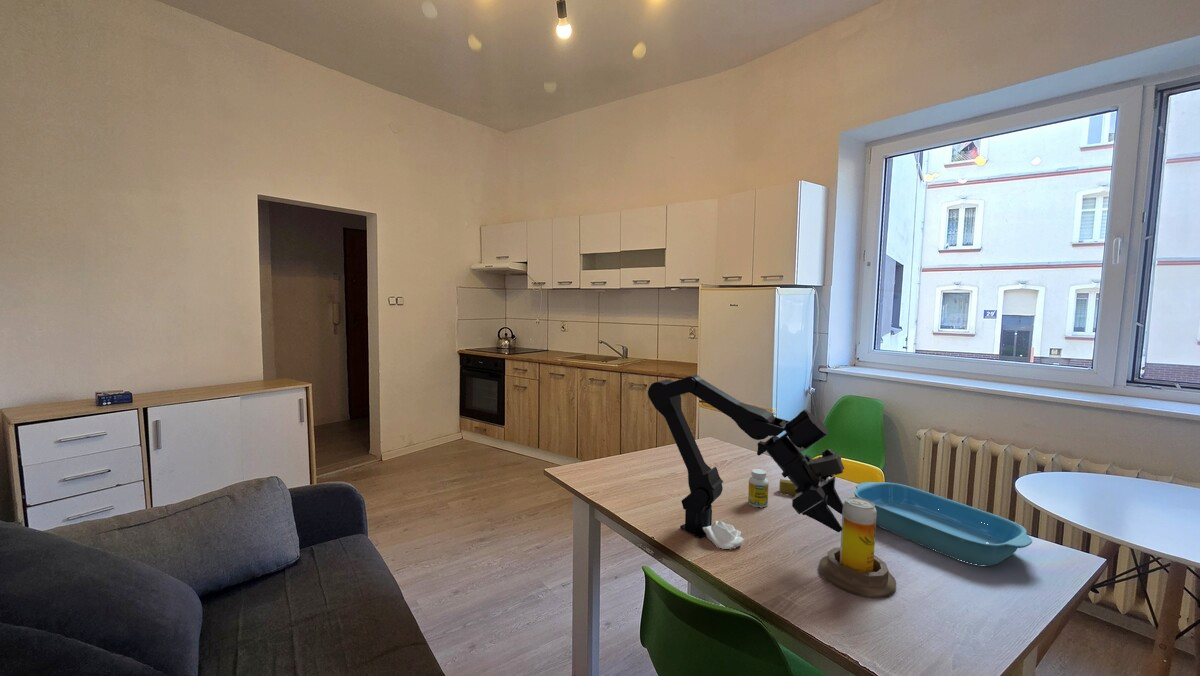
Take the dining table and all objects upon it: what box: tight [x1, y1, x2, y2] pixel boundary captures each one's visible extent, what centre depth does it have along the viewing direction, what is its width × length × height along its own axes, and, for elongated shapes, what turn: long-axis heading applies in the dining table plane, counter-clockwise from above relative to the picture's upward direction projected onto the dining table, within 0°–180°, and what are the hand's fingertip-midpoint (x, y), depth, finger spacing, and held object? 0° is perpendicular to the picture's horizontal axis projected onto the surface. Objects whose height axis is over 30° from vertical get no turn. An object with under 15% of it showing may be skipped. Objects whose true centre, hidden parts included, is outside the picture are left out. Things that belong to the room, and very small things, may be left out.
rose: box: [702, 520, 744, 550], centre depth 110 cm, size 10×4×10 cm
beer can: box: [840, 496, 877, 573], centre depth 95 cm, size 6×6×15 cm
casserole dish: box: [853, 481, 1033, 566], centre depth 115 cm, size 37×22×7 cm, turn 30°
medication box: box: [778, 478, 797, 497], centre depth 138 cm, size 12×3×4 cm, turn 66°
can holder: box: [818, 546, 897, 599], centre depth 96 cm, size 14×14×4 cm
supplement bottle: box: [747, 468, 770, 509], centre depth 131 cm, size 5×5×10 cm
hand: (843, 522), depth 97 cm, fingers open, 9 cm apart
